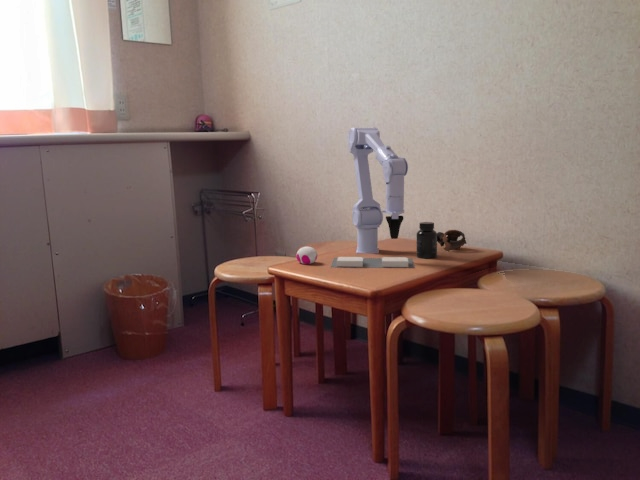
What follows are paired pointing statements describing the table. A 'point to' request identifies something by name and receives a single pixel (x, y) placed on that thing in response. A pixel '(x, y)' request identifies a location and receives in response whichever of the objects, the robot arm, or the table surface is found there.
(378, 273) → the table surface
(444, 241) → the brown curved piece
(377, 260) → the mat
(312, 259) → the stress ball
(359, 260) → the tile
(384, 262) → the tile
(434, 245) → the supplement bottle
